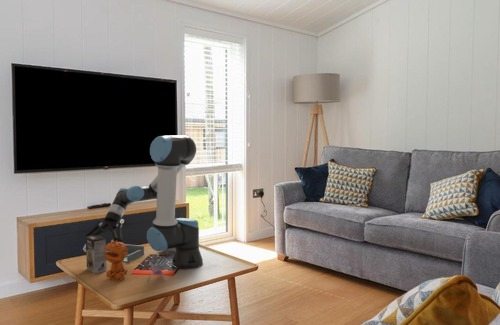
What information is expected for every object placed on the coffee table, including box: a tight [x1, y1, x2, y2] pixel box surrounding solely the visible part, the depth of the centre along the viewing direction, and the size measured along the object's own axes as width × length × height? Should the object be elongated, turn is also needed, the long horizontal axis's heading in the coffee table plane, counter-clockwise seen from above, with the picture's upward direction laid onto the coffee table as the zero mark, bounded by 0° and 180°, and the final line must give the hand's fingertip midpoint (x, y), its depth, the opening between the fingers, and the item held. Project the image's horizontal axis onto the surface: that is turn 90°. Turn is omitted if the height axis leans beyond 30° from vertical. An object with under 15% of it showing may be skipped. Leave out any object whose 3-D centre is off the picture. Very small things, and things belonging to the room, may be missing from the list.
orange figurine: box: [103, 240, 129, 282], centre depth 198 cm, size 11×11×18 cm
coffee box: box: [85, 234, 107, 274], centre depth 211 cm, size 9×6×16 cm
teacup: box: [164, 248, 175, 254], centre depth 244 cm, size 14×11×8 cm
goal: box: [106, 243, 145, 263], centre depth 232 cm, size 16×14×5 cm
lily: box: [147, 258, 165, 283], centre depth 196 cm, size 12×12×10 cm
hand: (96, 252), depth 211 cm, fingers open, 13 cm apart
